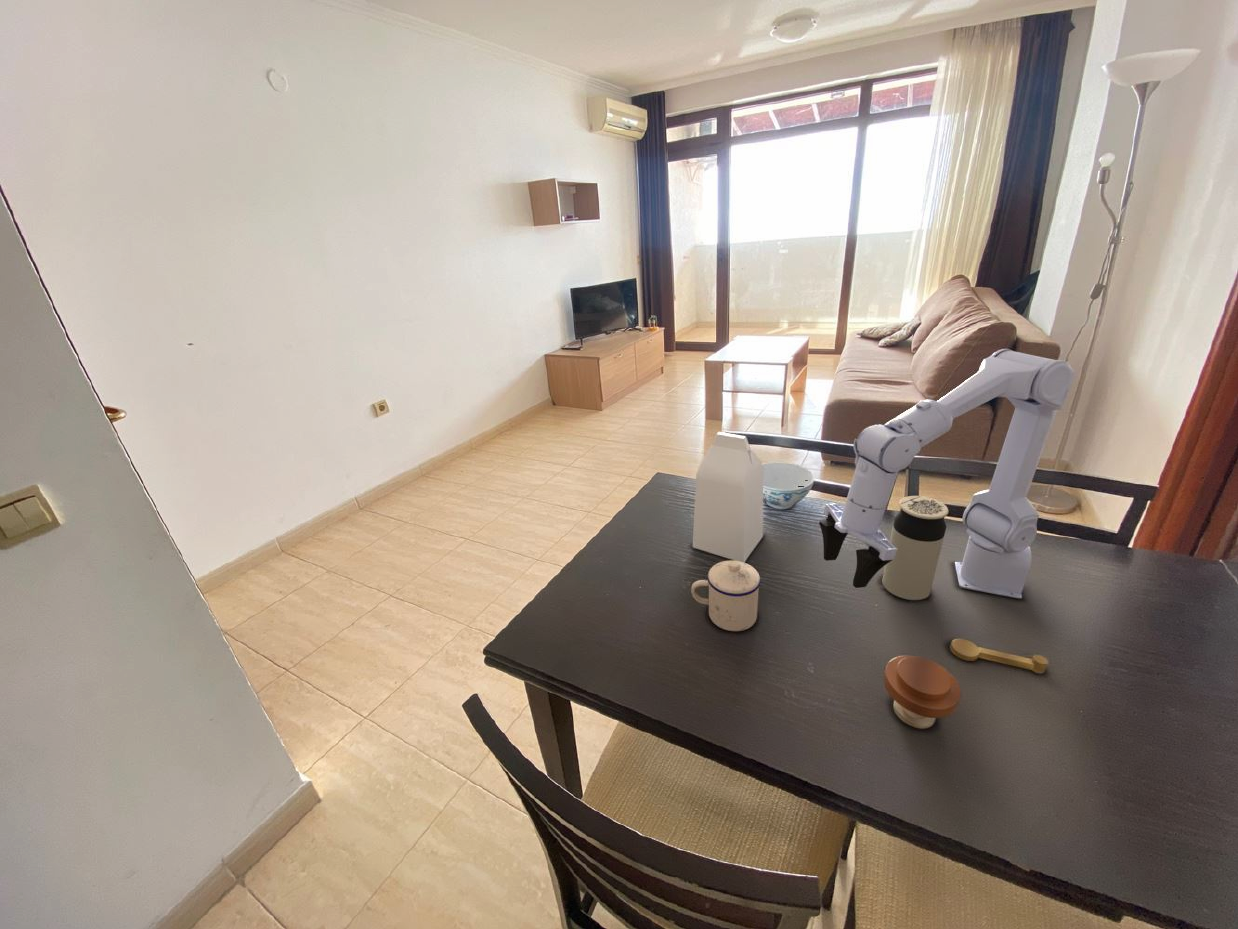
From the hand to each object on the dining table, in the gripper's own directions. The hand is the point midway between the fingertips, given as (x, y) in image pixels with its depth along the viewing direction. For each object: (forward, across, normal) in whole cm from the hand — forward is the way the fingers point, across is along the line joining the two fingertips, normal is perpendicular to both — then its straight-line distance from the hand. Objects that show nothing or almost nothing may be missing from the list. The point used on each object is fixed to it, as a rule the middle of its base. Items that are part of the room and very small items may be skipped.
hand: (843, 572), depth 84 cm
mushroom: (+11, +19, 0) cm, 22 cm away
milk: (+12, -29, -5) cm, 31 cm away
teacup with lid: (+14, -8, -16) cm, 22 cm away
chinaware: (+8, -40, +14) cm, 43 cm away
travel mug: (+8, -3, +19) cm, 21 cm away
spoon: (+8, +15, +18) cm, 25 cm away
